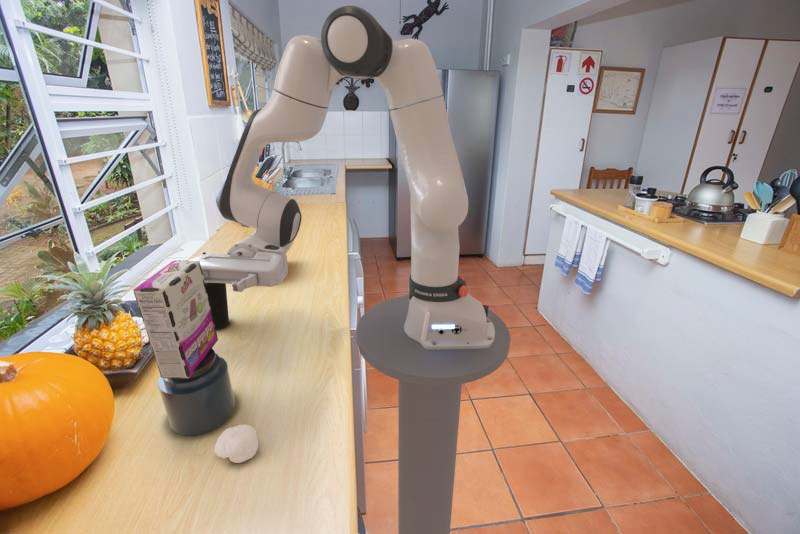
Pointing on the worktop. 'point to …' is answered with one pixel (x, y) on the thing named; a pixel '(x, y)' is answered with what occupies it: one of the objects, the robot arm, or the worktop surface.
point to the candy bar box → (177, 318)
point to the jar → (199, 397)
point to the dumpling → (237, 443)
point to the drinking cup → (218, 303)
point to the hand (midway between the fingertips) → (212, 286)
